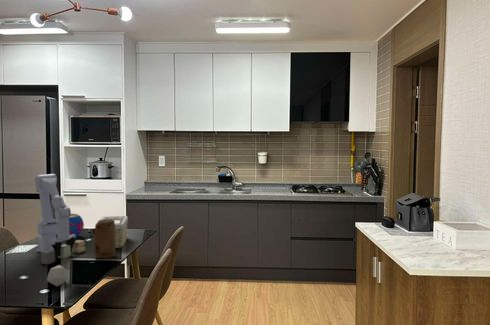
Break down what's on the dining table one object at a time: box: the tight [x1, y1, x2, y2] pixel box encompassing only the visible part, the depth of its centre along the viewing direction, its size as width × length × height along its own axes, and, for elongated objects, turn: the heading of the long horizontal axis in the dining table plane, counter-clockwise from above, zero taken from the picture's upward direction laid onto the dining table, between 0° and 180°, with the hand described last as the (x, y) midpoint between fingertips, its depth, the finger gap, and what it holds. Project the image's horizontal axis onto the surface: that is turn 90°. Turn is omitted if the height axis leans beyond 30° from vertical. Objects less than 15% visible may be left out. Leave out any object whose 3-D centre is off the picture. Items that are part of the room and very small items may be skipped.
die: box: [46, 264, 70, 287], centre depth 160 cm, size 8×9×10 cm
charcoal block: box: [40, 250, 56, 265], centre depth 188 cm, size 4×4×6 cm
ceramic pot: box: [56, 213, 85, 238], centre depth 235 cm, size 18×18×15 cm
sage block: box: [57, 244, 72, 259], centre depth 198 cm, size 4×4×6 cm
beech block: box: [72, 239, 86, 254], centre depth 207 cm, size 4×4×6 cm
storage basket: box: [94, 215, 129, 249], centre depth 223 cm, size 24×16×15 cm
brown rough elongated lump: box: [93, 219, 116, 259], centre depth 197 cm, size 11×8×20 cm
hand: (64, 254), depth 198 cm, fingers open, 7 cm apart
